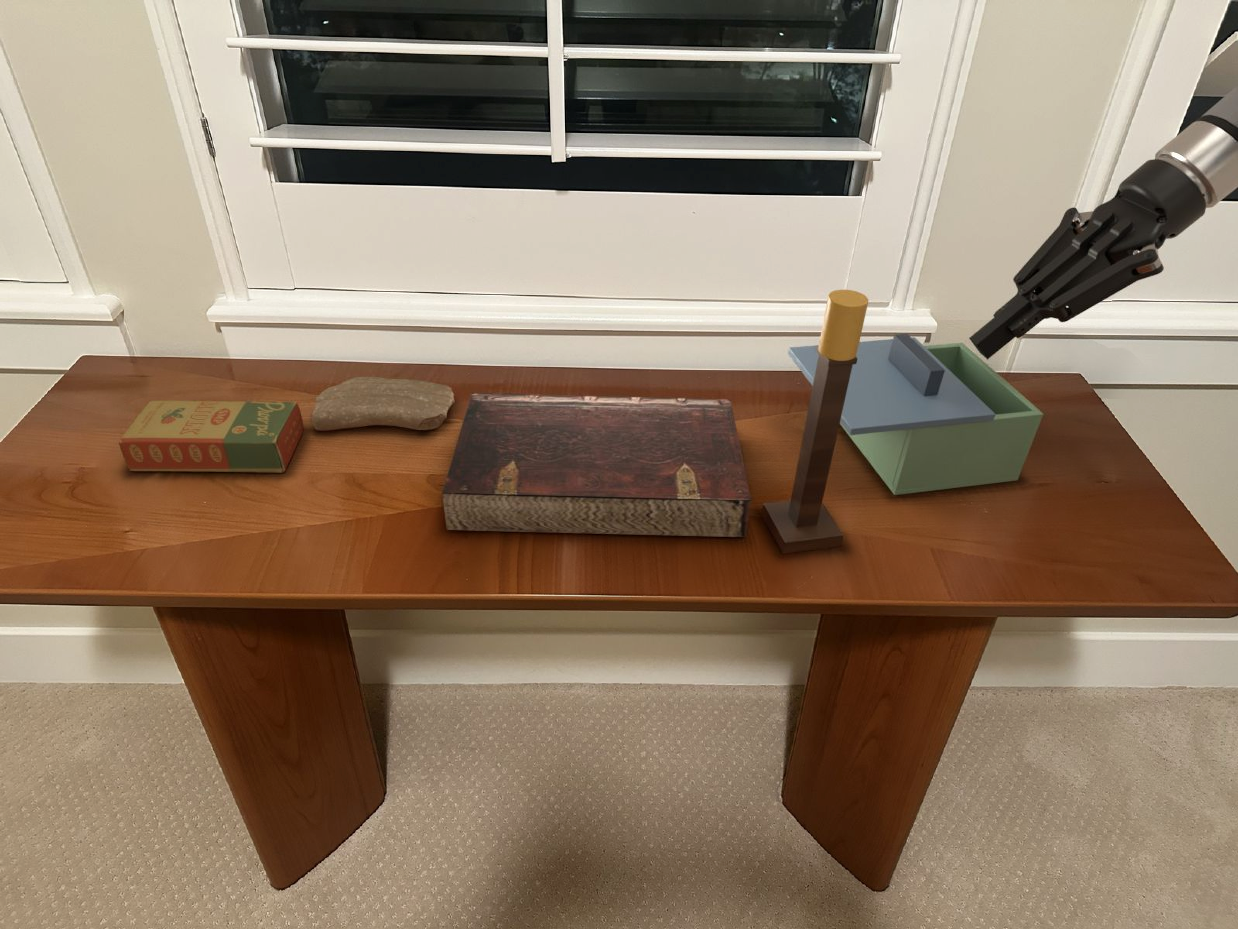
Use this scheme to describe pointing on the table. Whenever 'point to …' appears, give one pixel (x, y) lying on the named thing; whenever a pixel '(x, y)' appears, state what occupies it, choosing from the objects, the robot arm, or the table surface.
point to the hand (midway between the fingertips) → (978, 348)
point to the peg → (842, 325)
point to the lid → (899, 388)
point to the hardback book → (598, 466)
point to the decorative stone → (382, 404)
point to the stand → (813, 467)
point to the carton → (213, 436)
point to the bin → (958, 436)
